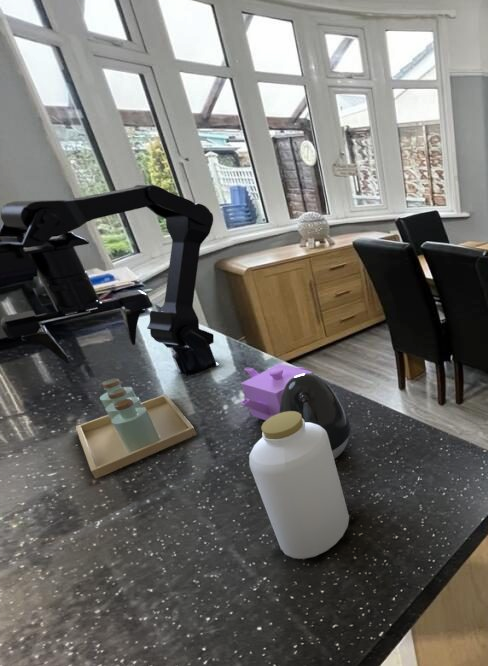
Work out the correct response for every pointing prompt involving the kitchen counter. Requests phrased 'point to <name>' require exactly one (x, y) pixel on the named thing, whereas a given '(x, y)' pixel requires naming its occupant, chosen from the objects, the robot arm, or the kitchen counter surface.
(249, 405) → the teapot
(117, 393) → the row bottle
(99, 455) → the tray
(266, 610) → the kitchen counter surface
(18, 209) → the robot arm
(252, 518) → the kitchen counter surface
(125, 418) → the loose bottle
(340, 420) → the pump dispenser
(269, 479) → the white jar with lid
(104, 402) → the row bottle
